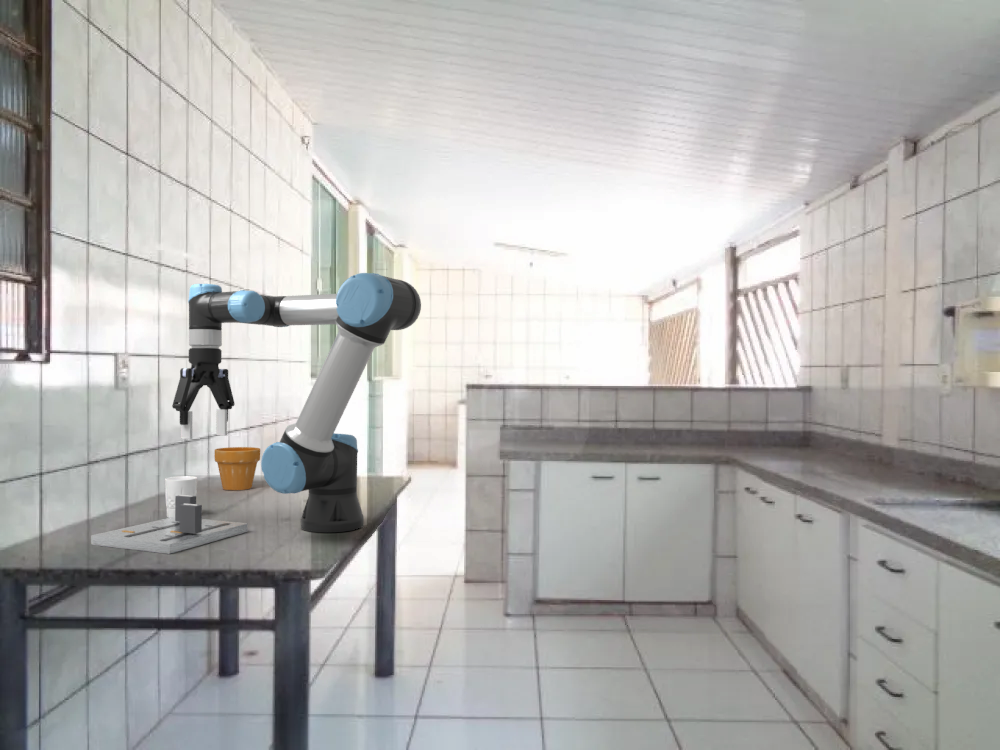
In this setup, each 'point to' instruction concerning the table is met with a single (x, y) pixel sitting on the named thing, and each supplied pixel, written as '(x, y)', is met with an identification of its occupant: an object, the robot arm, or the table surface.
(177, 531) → the console
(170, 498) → the white cup
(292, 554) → the table surface
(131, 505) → the table surface
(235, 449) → the flower pot
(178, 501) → the fader tab
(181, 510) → the fader
